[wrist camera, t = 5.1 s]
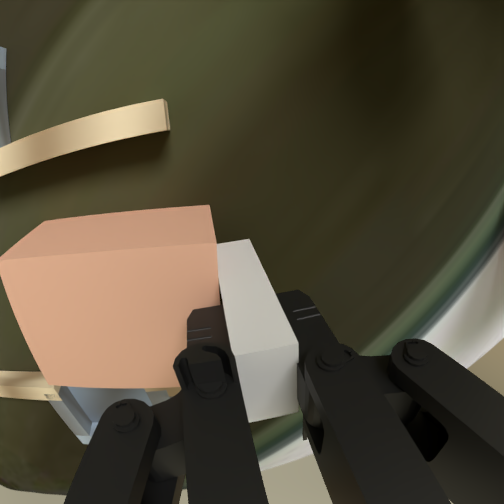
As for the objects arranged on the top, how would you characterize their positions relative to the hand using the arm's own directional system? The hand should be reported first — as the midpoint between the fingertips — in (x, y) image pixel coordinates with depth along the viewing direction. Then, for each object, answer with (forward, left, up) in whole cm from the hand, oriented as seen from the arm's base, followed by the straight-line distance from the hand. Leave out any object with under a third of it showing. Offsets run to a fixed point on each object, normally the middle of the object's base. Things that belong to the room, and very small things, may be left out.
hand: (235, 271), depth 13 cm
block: (0, -5, -2) cm, 5 cm away
